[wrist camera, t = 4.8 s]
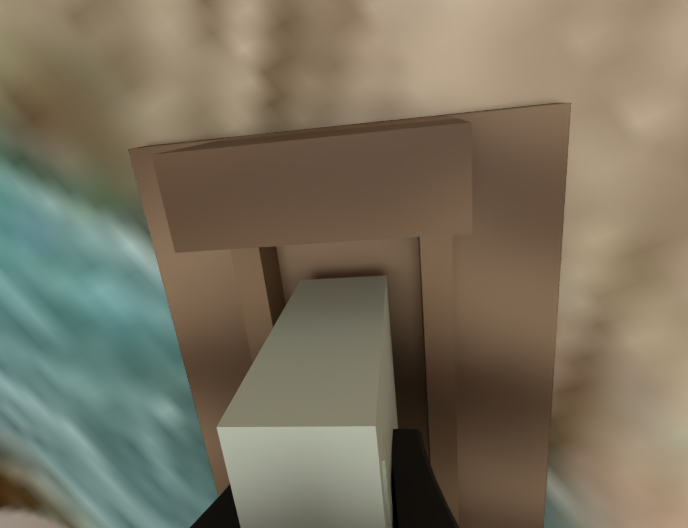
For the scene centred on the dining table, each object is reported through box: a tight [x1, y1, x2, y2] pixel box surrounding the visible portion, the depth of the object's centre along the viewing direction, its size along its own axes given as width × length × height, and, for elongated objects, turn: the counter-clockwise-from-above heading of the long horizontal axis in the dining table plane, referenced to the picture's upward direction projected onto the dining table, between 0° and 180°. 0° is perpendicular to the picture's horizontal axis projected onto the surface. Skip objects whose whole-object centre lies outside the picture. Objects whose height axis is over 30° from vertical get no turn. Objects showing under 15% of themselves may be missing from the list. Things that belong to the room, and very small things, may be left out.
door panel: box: [217, 275, 398, 528], centre depth 11 cm, size 8×2×6 cm, turn 6°
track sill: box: [128, 103, 571, 528], centre depth 13 cm, size 16×12×5 cm
